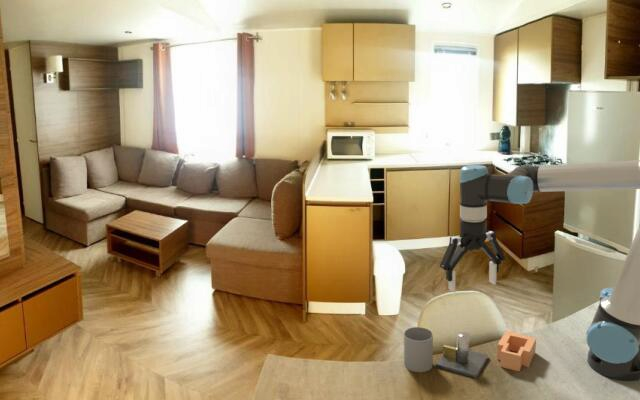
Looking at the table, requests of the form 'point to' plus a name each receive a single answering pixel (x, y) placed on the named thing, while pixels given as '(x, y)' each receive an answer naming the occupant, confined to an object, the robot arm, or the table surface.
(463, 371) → the post base
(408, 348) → the cup
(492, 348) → the table surface
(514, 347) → the orange bottle-shaped mold
